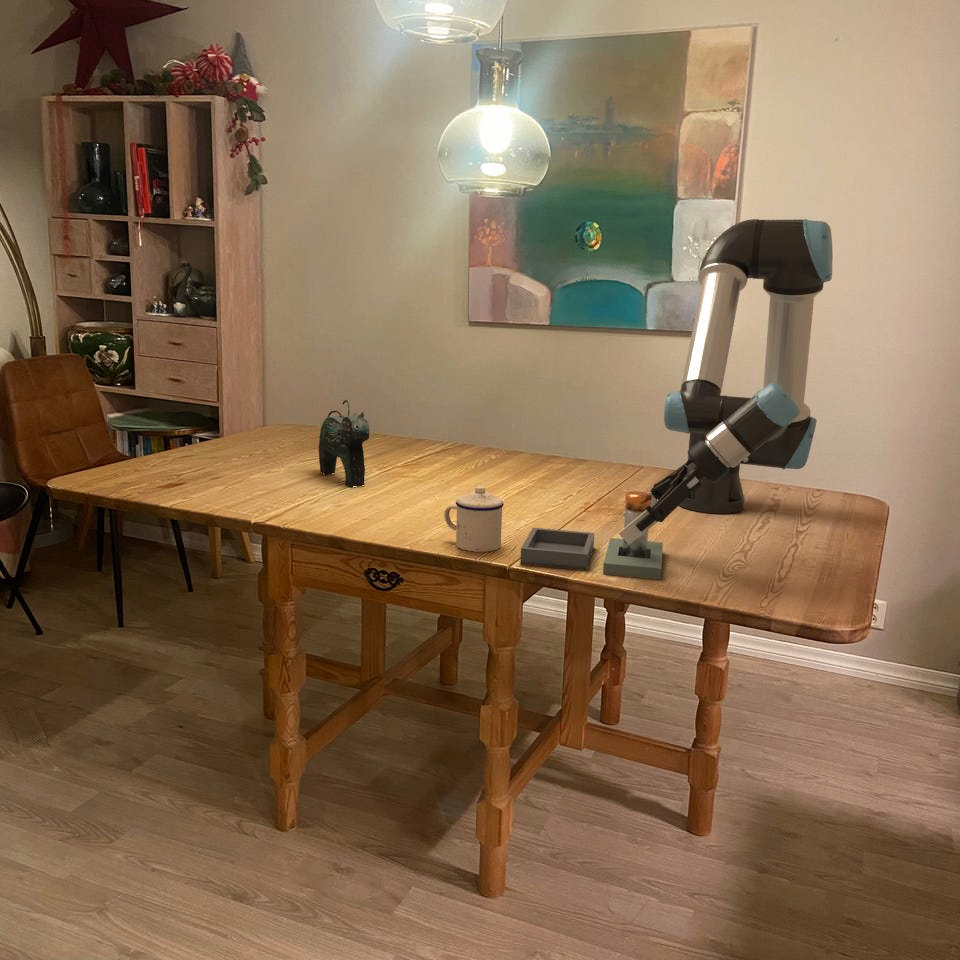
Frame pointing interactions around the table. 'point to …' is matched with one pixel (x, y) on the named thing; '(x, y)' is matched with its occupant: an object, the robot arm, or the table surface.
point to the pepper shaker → (633, 509)
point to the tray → (557, 548)
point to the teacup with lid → (477, 521)
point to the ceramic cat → (344, 445)
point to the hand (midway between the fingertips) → (625, 528)
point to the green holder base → (633, 561)
